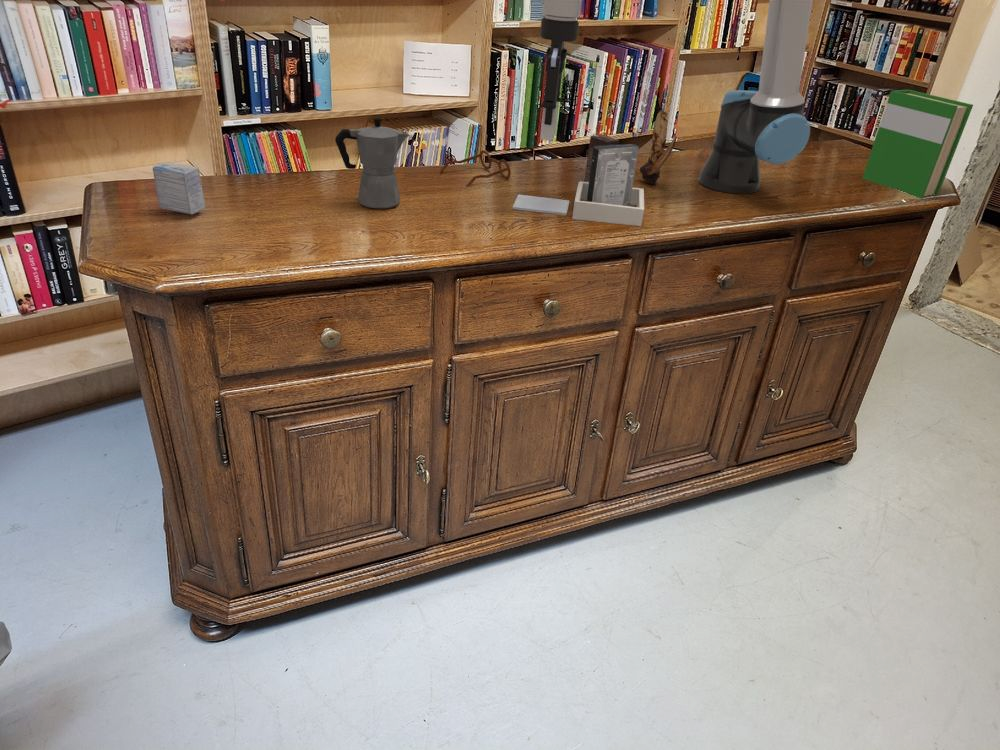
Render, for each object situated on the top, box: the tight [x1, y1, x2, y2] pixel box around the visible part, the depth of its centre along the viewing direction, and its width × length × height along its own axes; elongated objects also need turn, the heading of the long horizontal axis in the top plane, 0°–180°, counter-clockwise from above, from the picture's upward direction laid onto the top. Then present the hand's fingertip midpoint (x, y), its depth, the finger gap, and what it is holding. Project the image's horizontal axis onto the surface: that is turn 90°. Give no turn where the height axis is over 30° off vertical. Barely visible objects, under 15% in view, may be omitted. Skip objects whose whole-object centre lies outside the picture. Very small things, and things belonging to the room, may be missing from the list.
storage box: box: [572, 180, 645, 227], centre depth 167 cm, size 15×15×4 cm
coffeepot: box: [334, 116, 410, 209], centre depth 158 cm, size 15×9×18 cm, turn 107°
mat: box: [512, 194, 570, 216], centre depth 168 cm, size 12×9×1 cm
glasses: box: [438, 149, 511, 188], centre depth 183 cm, size 13×13×5 cm
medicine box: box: [152, 161, 206, 215], centre depth 149 cm, size 8×4×9 cm, turn 71°
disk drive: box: [586, 143, 639, 207], centre depth 164 cm, size 10×3×15 cm, turn 114°
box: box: [583, 134, 620, 182], centre depth 180 cm, size 6×4×12 cm
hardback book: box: [861, 89, 974, 200], centre depth 192 cm, size 18×7×24 cm, turn 30°
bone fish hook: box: [639, 110, 677, 185], centre depth 182 cm, size 9×5×18 cm, turn 14°
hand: (547, 136), depth 160 cm, fingers open, 5 cm apart
